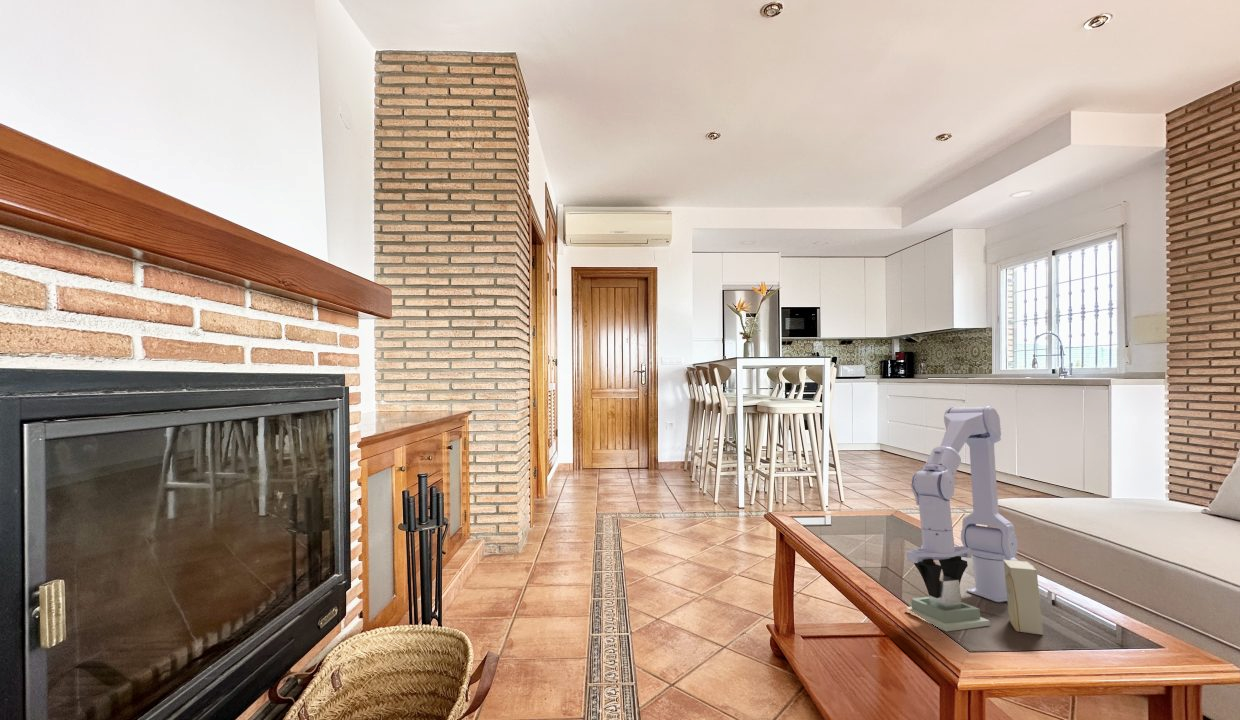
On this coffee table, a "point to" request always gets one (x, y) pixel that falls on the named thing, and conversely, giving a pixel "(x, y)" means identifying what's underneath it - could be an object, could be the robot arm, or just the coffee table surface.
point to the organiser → (948, 615)
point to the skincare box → (1023, 596)
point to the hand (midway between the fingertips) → (943, 595)
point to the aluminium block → (947, 594)
